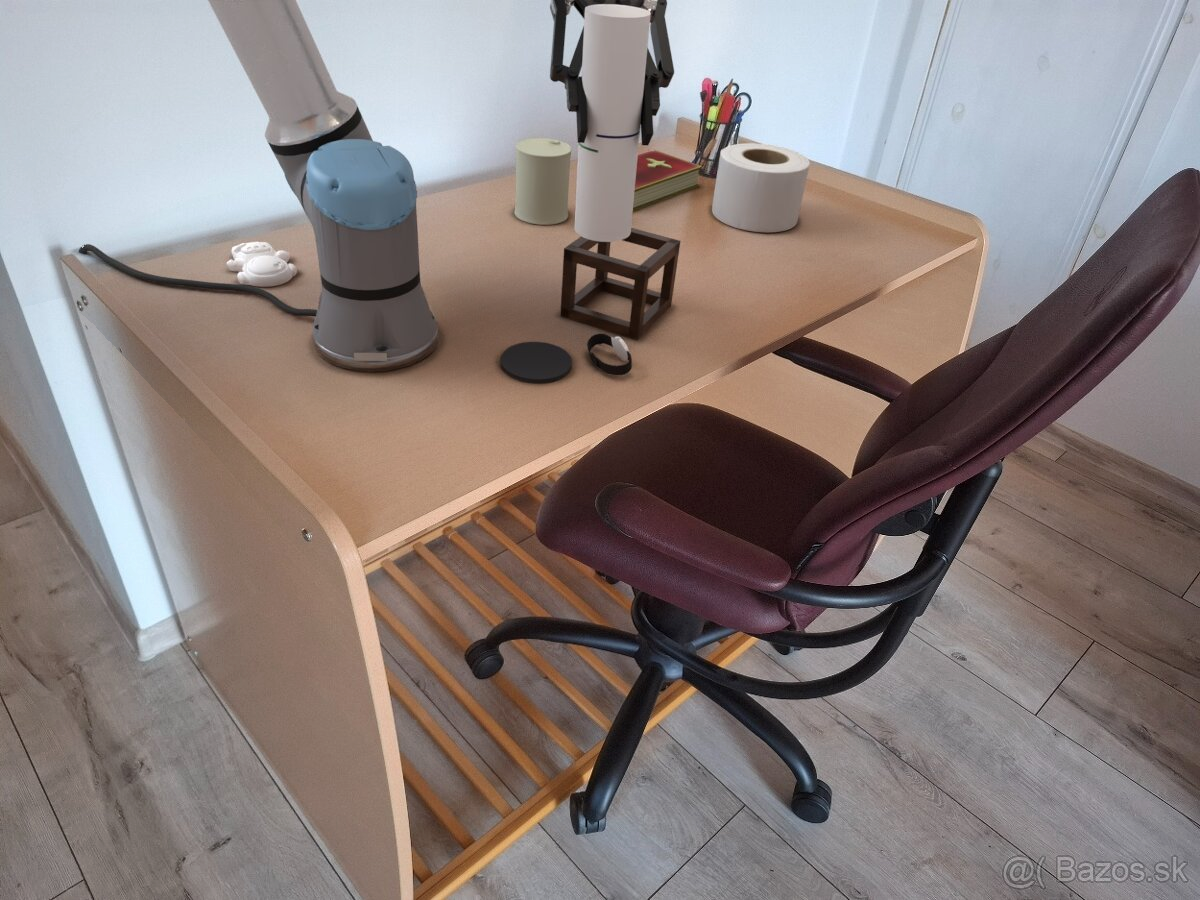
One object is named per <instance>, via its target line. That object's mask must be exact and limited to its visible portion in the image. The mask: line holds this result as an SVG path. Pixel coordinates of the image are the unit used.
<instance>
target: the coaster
mask: <svg viewBox="0 0 1200 900" xmlns="http://www.w3.org/2000/svg"><path fill="white" fill-rule="evenodd" d="M499 361H500V362H499V363H500V367H501V369H502V371H503V372H504V373H505V374H506V375H507V376H509V377H511V378H513V379H514V380H518V381H520V382H525V383H531V384H545V383H552V382H555V381H559V380H561V379H563V378H565V377H566V376H568V374H569V373H570V372H571V370H572V368H573V358H572V356H571V355H570V353H569V352H568V351H566V349H564V348H562V347H560V346H558V345H556V344H553V343H549V342H544V341H526V342H525V341H523V342H519V343H516V344H513V345H511V346H508V347H507V348H506V349H505V350H504V351H503V352H502V353H501V354H500V359H499Z"/></svg>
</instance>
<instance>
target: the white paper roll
mask: <svg viewBox="0 0 1200 900" xmlns="http://www.w3.org/2000/svg"><path fill="white" fill-rule="evenodd" d="M810 165H811V163H810V160H809V159H808V158H807V157H806V156H805V155H804V154H802V153H800V152H798V151H796V150H793V149H789V148H787V147H783V146H779V145H774V144H766V143H751V142H749V143H747V142H745V143H736V144H731V145H728V146H726V147H723V148H722V149H720V154H719V160H718V166H717V173H716V177H715V186H714V192H713V199H712V205H711V212H712V215H713V217H715V219H717V220H718V221H719V222H721V223H723V224H724V225H727V226H730V227H732V228H735V229H739V230H742V231H747V232H755V233H778V232H784V231H789V230H791V229H793V228H794V227H795V226H797V224H798V220H799V216H800V211H801V207H802V202H803V197H804V193H805V187H806V183H807V179H808V173H809V169H810Z"/></svg>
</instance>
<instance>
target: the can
mask: <svg viewBox="0 0 1200 900" xmlns="http://www.w3.org/2000/svg"><path fill="white" fill-rule="evenodd" d="M572 151H573V149H572V147H571V146H570V144H568V143H566V142H564V141H561V140H558V139H553V138H548V137H547V138H546V137H531V138H525V139H521V140H520V141H517V142H516V144H515V153H516V154H515V155H516V157H515V158H516V159H515V166H516V167H515V205H514V216H515V217H516V218H517V219H518V220H520V221H521V222H525V223H528V224H532V225H539V226H551V225H557V224H560V223H563V222H565V221H566V220H567V219H568V217H569V210H568V209H569V187H570V170H571V158H572V157H571V156H572Z"/></svg>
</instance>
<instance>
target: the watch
mask: <svg viewBox="0 0 1200 900" xmlns="http://www.w3.org/2000/svg"><path fill="white" fill-rule="evenodd" d="M599 345H606V346H609V347H611V348H613V350H614V352H615V353H616V355H617V357H618V358H619V359H620V360H622V361H624V362H626V361H628V362H627V363H624V364H619V365H615V364H614V365H613V364H609V363H606V362H604V361H602V360H601V359H600V358H599V357H597V356H596V355H595V354H594V352H593V351H591V350H592V349H593V348H594V347H596V346H599ZM586 346H587V352H588V358H589V360H590V361H591V363H592V365H593V366H594V367H595V368H596V369H599V370H601V371H602V372H603V373H605V374H607V375H610V376H623V375H627V374H628V373H630V372H631V370H632V369H633V360H632V354H631V353H630V350H629V347H628V345H627V344H626V342H625V340H624V339H623V338H622V337H620V336H615V337H613V336H611V335H609V334H606V333H602V332H601V333H600V332H599V333H596V334H593V335H591V336H590V337H589V338H588V340H587V341H586Z"/></svg>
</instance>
